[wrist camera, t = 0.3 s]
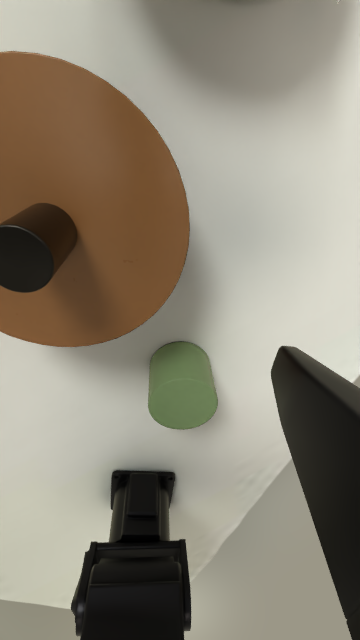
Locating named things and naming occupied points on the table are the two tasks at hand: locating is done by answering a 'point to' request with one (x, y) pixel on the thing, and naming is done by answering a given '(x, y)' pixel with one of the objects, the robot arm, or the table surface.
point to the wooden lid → (82, 207)
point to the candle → (181, 386)
